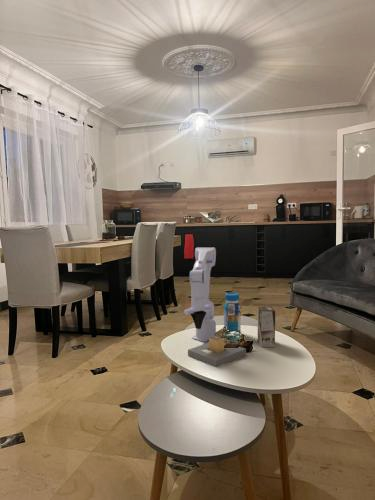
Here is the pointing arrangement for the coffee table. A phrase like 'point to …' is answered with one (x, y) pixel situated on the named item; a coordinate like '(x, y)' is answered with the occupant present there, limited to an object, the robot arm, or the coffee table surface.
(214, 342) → the plug
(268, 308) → the coffee box
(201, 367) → the coffee table surface
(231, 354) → the socket plate
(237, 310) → the beverage bottle
